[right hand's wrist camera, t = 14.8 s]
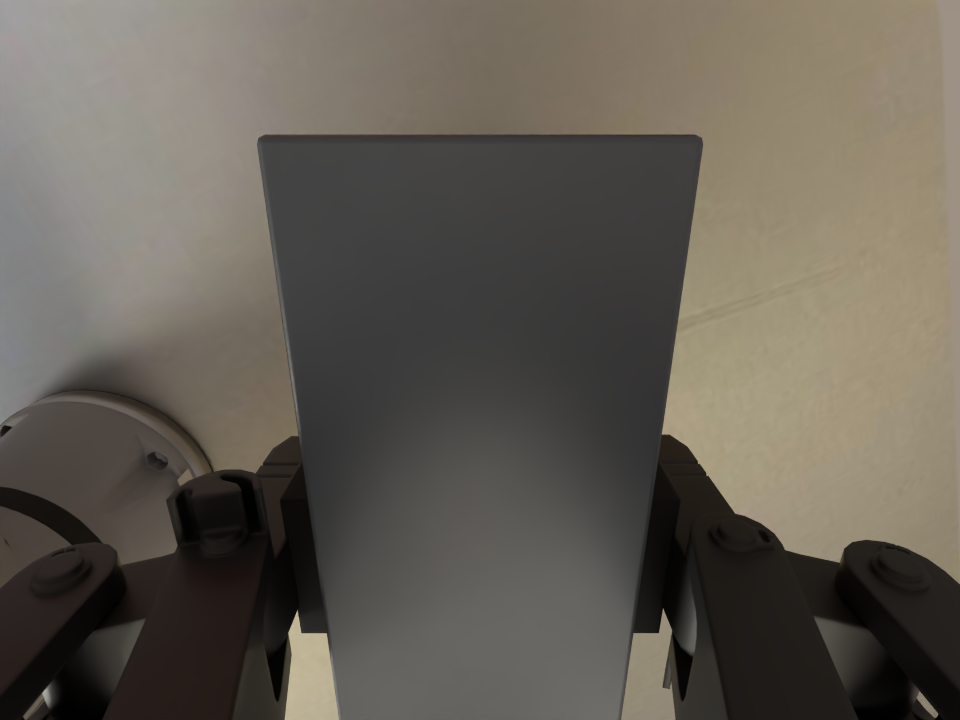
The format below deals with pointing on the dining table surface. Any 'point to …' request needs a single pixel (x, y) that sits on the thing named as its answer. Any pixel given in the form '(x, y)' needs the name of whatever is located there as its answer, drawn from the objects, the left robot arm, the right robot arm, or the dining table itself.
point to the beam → (480, 405)
